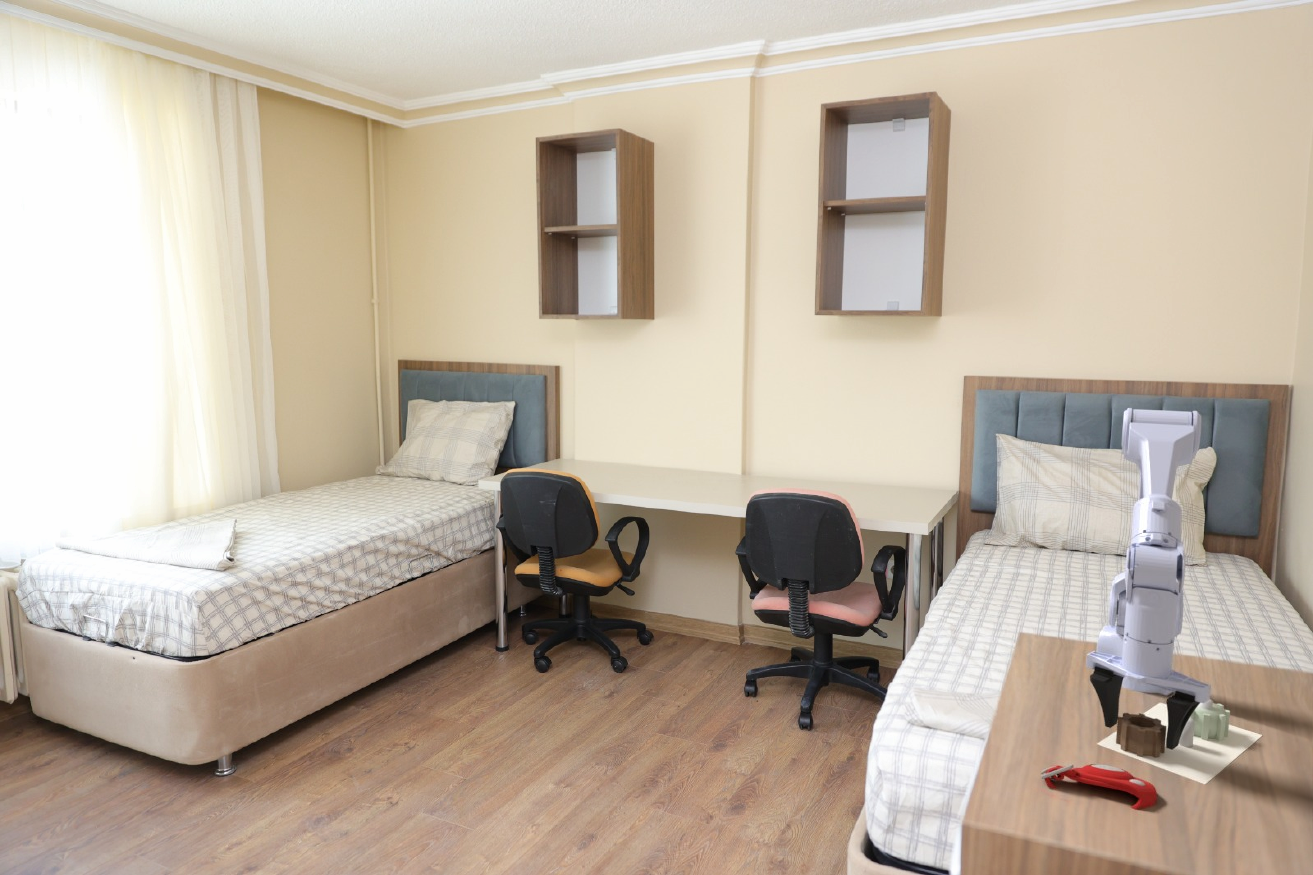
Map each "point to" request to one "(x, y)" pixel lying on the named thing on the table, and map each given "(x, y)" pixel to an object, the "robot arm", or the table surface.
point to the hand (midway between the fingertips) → (1140, 735)
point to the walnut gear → (1141, 735)
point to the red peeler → (1105, 780)
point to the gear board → (1196, 743)
